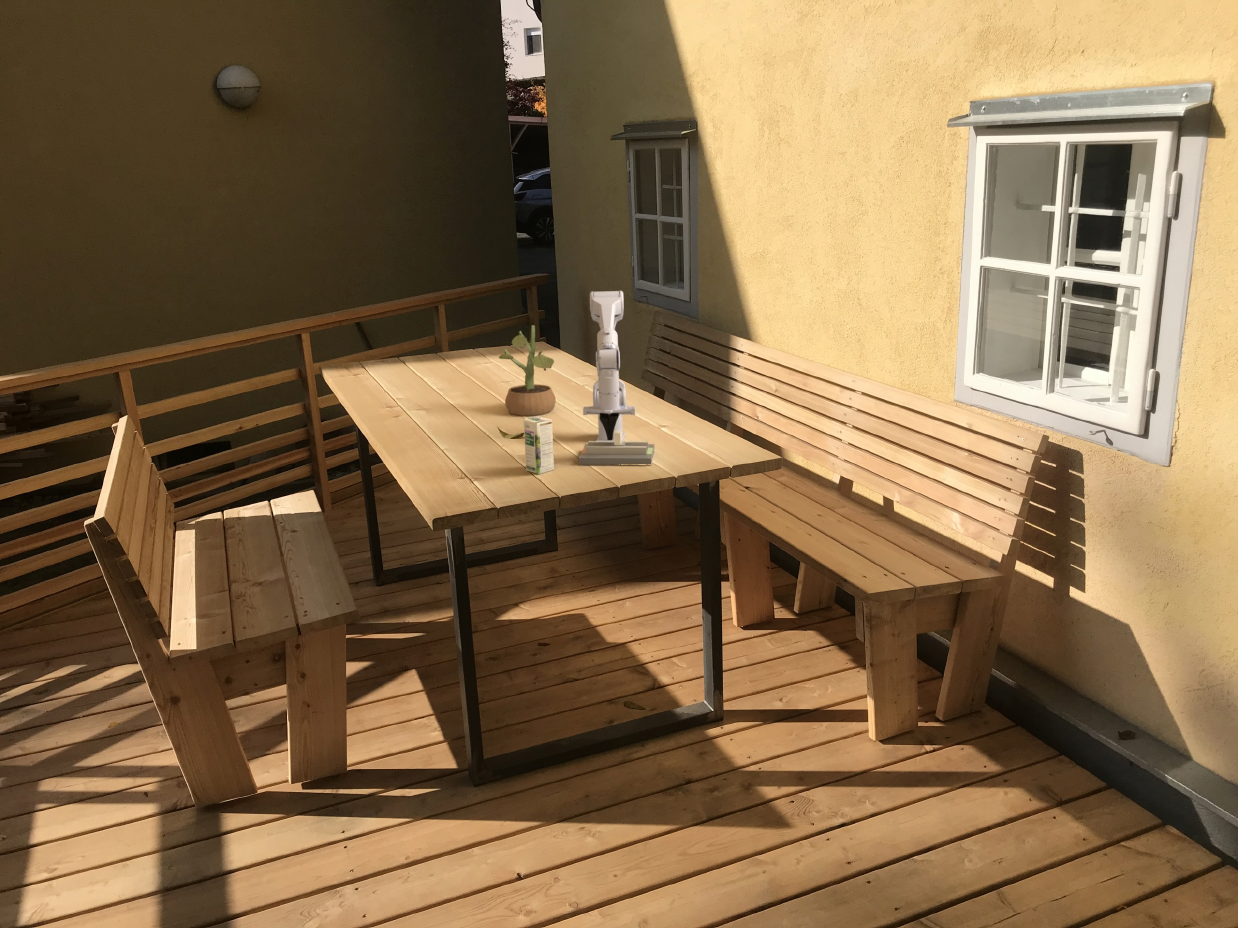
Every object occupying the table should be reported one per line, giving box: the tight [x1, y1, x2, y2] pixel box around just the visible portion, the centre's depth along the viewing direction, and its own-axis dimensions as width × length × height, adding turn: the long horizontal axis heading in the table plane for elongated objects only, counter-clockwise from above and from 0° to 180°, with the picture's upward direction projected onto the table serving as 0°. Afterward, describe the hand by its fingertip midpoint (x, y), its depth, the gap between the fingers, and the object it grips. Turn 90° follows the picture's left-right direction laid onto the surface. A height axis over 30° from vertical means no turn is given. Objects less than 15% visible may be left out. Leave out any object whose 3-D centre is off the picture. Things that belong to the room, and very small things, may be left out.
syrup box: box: [523, 415, 555, 475], centre depth 267 cm, size 6×6×14 cm
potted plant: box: [498, 325, 557, 417], centre depth 326 cm, size 22×18×30 cm
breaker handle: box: [610, 430, 626, 446], centre depth 277 cm, size 3×4×5 cm
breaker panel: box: [578, 440, 655, 466], centre depth 277 cm, size 14×20×4 cm
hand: (610, 439), depth 277 cm, fingers closed
